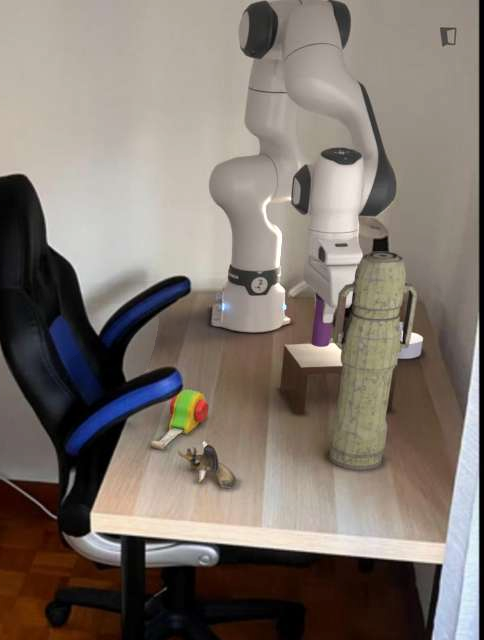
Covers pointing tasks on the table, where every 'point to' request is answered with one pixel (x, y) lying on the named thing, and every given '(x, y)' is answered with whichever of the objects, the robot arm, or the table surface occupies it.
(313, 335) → the marker
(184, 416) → the toy measuring tape
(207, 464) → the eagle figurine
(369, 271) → the thermos
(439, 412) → the table surface
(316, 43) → the robot arm
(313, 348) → the small wooden stool
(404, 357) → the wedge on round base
